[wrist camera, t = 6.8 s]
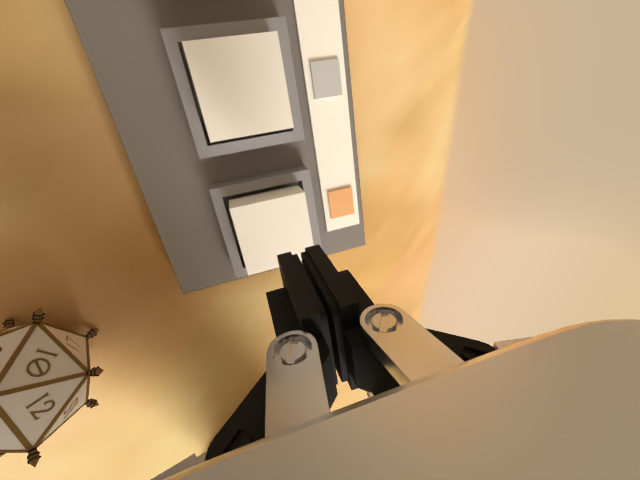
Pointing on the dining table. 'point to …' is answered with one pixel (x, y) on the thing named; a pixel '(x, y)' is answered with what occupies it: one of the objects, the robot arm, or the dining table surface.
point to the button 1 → (271, 226)
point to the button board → (233, 154)
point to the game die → (40, 382)
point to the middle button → (240, 84)
